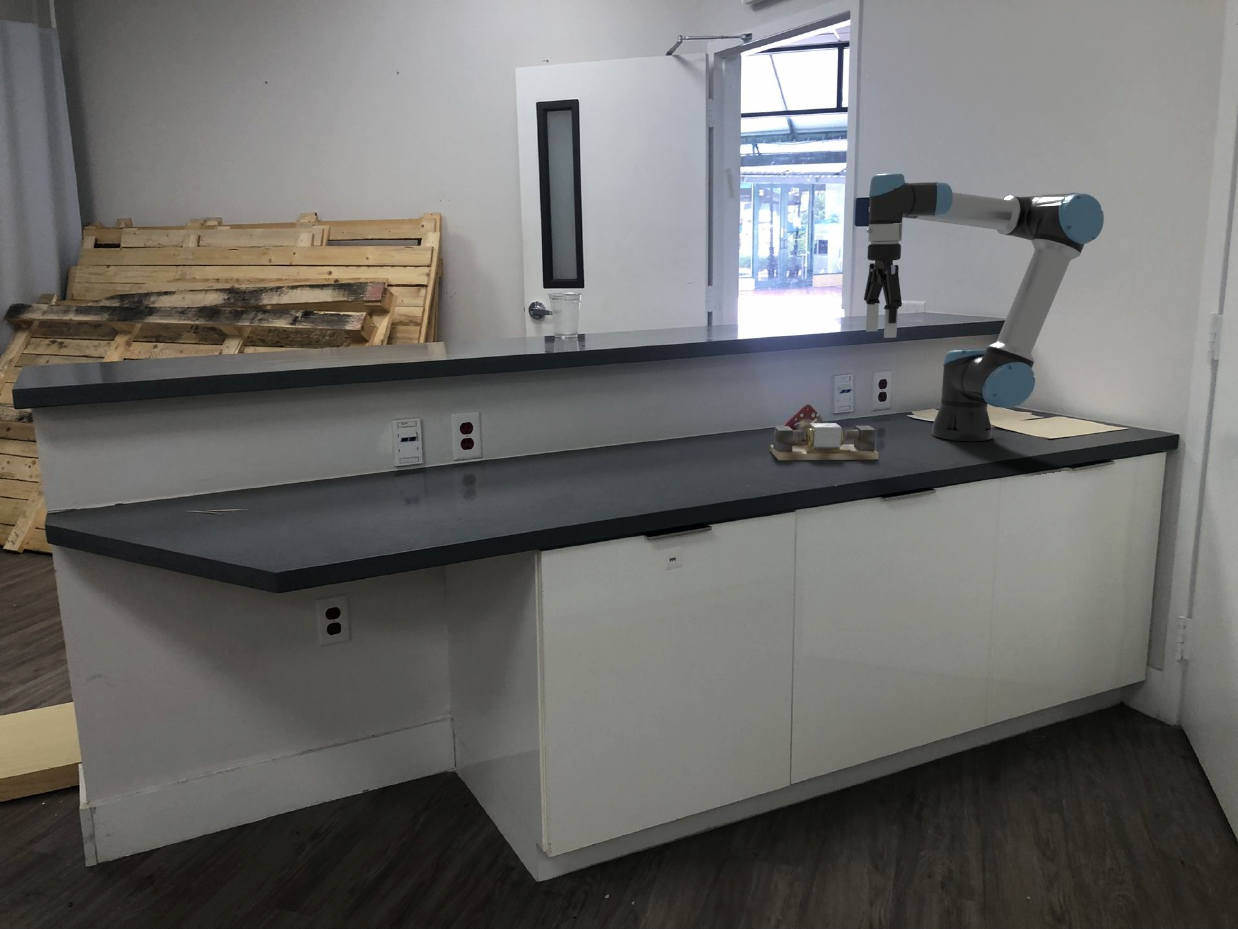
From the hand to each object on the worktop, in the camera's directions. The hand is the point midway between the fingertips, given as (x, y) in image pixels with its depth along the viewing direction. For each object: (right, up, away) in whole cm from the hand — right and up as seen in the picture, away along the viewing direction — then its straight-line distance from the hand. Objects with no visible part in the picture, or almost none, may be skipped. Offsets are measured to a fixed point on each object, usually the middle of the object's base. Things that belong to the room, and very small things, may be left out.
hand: (880, 334), depth 230 cm
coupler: (-13, -27, +4) cm, 30 cm away
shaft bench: (-13, -29, +4) cm, 32 cm away
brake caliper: (-15, -27, +13) cm, 34 cm away
